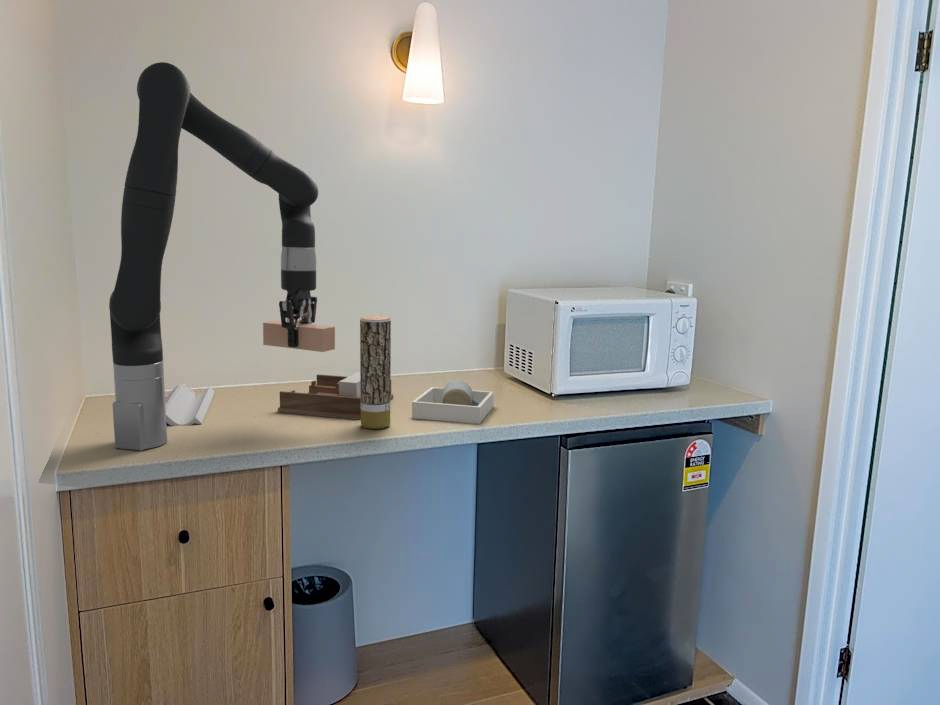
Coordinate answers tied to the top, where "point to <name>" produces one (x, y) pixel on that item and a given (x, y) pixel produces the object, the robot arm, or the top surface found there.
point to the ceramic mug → (458, 394)
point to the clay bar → (300, 336)
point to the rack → (322, 400)
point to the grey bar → (350, 386)
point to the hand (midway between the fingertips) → (299, 344)
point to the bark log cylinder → (375, 371)
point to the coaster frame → (451, 407)
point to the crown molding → (187, 405)
